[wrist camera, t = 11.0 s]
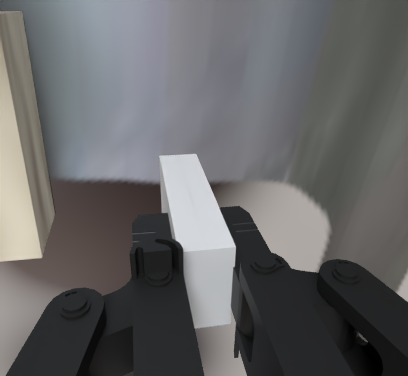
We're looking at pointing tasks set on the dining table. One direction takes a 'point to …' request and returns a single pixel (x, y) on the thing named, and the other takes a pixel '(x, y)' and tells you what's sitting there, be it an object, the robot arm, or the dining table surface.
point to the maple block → (21, 151)
